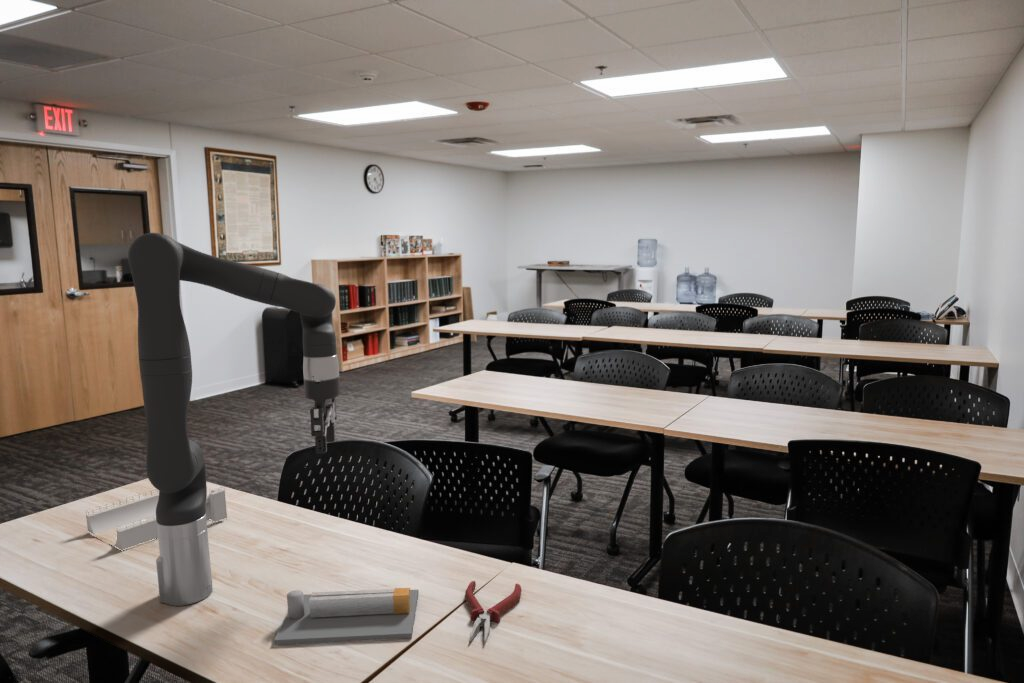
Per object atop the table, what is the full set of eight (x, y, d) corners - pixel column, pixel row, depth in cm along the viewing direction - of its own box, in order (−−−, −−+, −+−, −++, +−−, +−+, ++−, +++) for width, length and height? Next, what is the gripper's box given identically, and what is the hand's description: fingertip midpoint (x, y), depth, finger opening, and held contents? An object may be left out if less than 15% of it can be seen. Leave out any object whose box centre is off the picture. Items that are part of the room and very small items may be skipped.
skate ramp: (183, 504, 193) (179, 470, 192) (227, 522, 180) (224, 486, 179) (88, 535, 173) (84, 498, 172) (130, 557, 160) (126, 517, 159)
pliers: (446, 645, 123) (446, 631, 123) (469, 589, 143) (469, 578, 142) (508, 649, 121) (508, 636, 121) (522, 593, 141) (522, 581, 141)
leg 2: (310, 618, 130) (308, 600, 129) (311, 614, 131) (310, 596, 130) (409, 613, 131) (408, 595, 130) (409, 609, 132) (409, 591, 132)
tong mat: (274, 645, 123) (272, 617, 122) (297, 599, 139) (295, 574, 138) (411, 638, 124) (410, 610, 124) (418, 593, 140) (417, 569, 139)
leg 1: (312, 613, 131) (311, 595, 131) (314, 609, 133) (312, 591, 132) (410, 609, 132) (409, 591, 132) (410, 605, 133) (409, 587, 133)
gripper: (311, 370, 153) (316, 438, 156) (295, 382, 139) (300, 458, 142) (345, 369, 154) (348, 437, 156) (332, 381, 140) (336, 456, 142)
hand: (325, 447), depth 149 cm, fingers open, 8 cm apart
